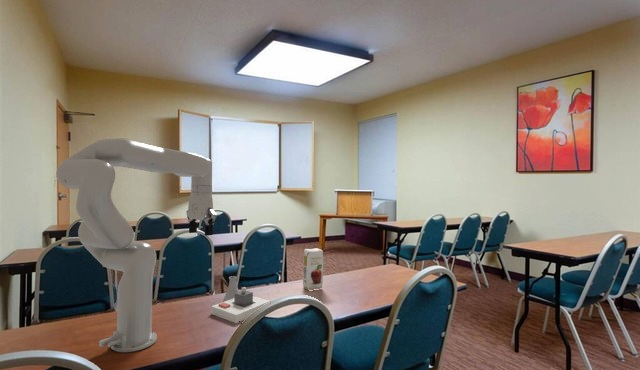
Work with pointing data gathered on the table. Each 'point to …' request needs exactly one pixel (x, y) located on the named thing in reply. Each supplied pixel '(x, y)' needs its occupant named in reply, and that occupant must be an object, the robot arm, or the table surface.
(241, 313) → the socket plate
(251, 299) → the plug
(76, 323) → the table surface
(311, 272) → the juice carton
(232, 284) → the flask
